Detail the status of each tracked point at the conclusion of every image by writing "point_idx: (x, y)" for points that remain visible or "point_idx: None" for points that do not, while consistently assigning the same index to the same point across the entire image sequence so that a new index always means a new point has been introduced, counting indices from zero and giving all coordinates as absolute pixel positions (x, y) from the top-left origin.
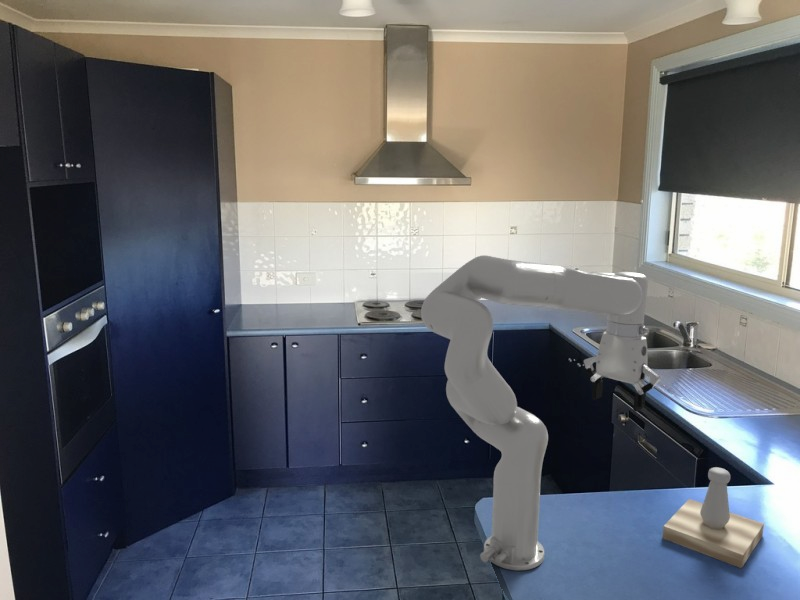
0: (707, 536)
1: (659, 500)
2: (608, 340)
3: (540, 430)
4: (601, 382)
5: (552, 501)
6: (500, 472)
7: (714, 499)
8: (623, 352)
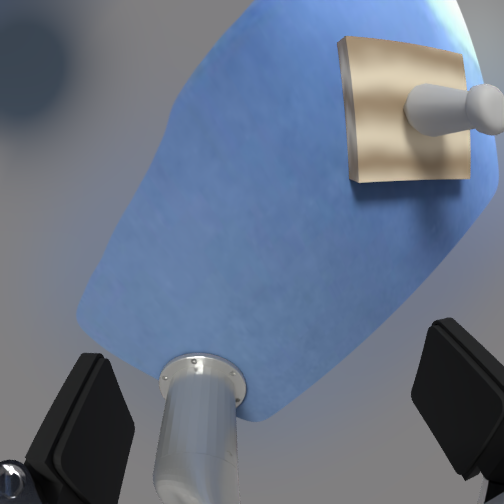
0: (424, 161)
1: (276, 41)
2: None
3: None
4: (77, 480)
5: (125, 222)
6: None
7: (458, 131)
8: None
